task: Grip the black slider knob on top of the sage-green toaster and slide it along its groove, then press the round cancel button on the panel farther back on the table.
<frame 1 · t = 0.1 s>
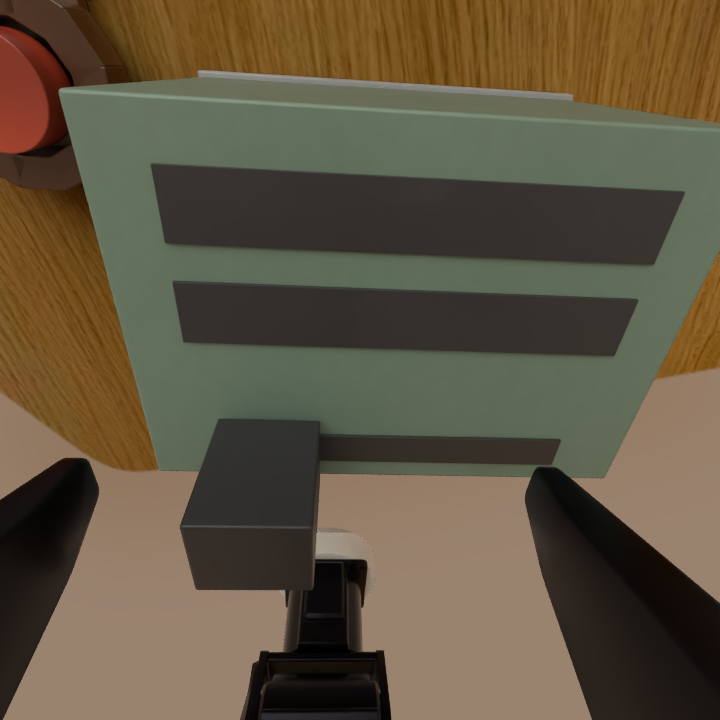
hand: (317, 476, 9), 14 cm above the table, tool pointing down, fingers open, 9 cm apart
toaster: (378, 215, 21), on the table
cancel button: (5, 91, 15), point 3 cm above the table, slide at 0.1 cm
slider: (262, 498, 12), point 13 cm above the table, slide at 0.0 cm
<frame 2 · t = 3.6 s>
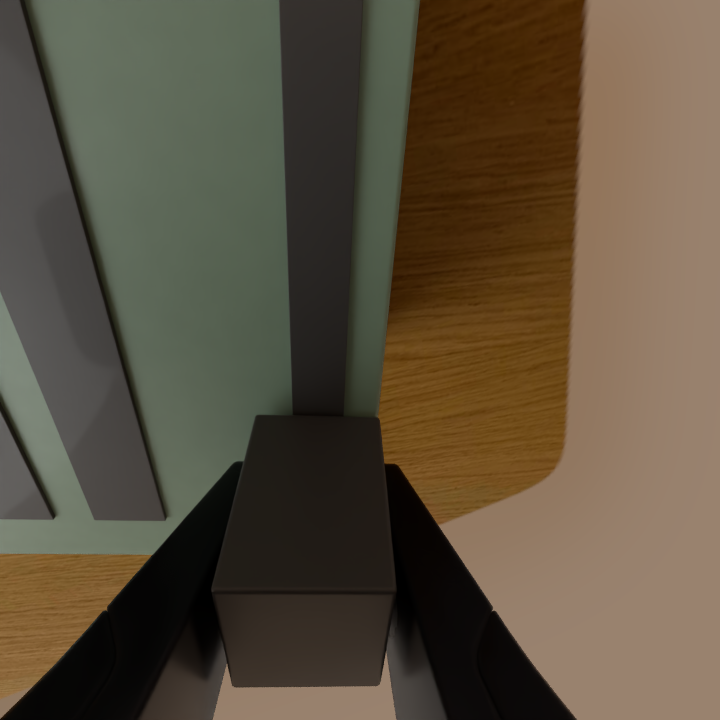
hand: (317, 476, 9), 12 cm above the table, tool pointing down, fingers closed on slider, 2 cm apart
toaster: (230, 172, 17), on the table
slider: (312, 539, 8), point 13 cm above the table, slide at 0.0 cm, touching gripper
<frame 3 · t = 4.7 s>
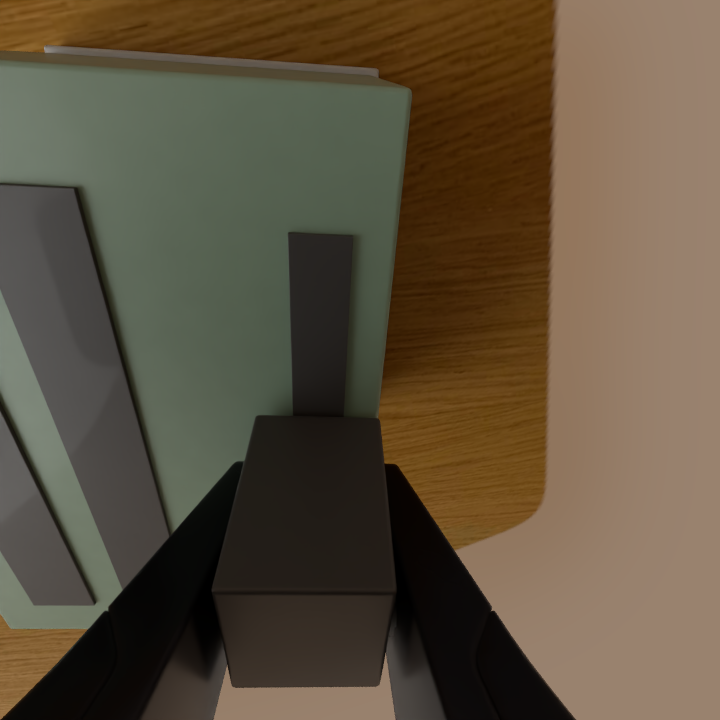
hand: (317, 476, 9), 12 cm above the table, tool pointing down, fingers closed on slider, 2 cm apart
toaster: (239, 266, 19), on the table
slider: (312, 539, 8), point 13 cm above the table, slide at 3.6 cm, touching gripper
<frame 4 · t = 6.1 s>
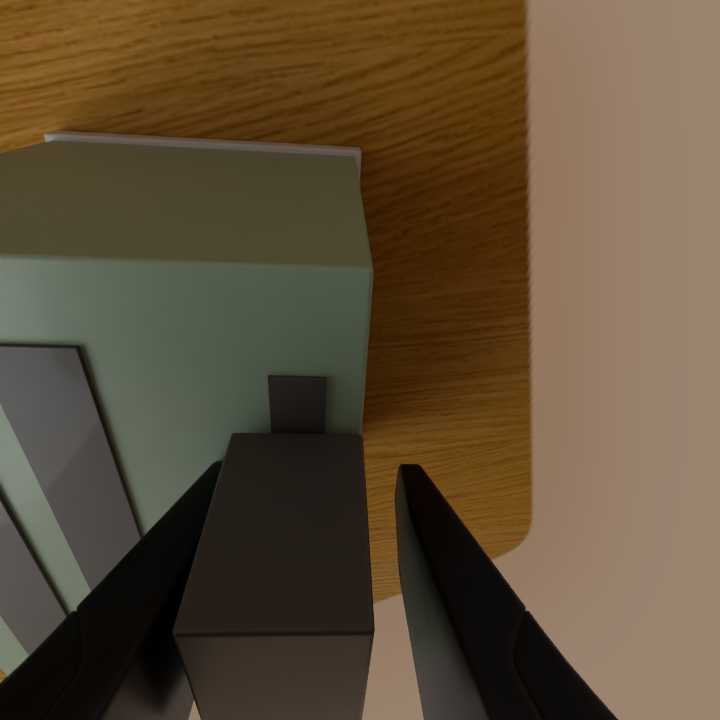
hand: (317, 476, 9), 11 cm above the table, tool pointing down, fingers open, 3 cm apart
toaster: (231, 322, 19), on the table
slider: (290, 565, 8), point 13 cm above the table, slide at 6.0 cm
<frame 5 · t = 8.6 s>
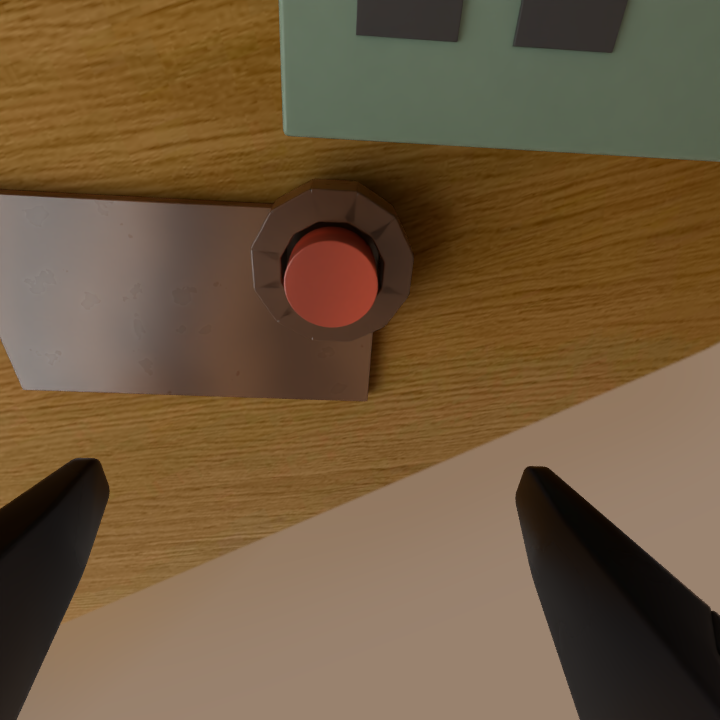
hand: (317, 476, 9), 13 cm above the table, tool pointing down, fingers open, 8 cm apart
cancel button: (331, 277, 18), point 3 cm above the table, slide at 0.1 cm
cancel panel: (187, 305, 22), on the table
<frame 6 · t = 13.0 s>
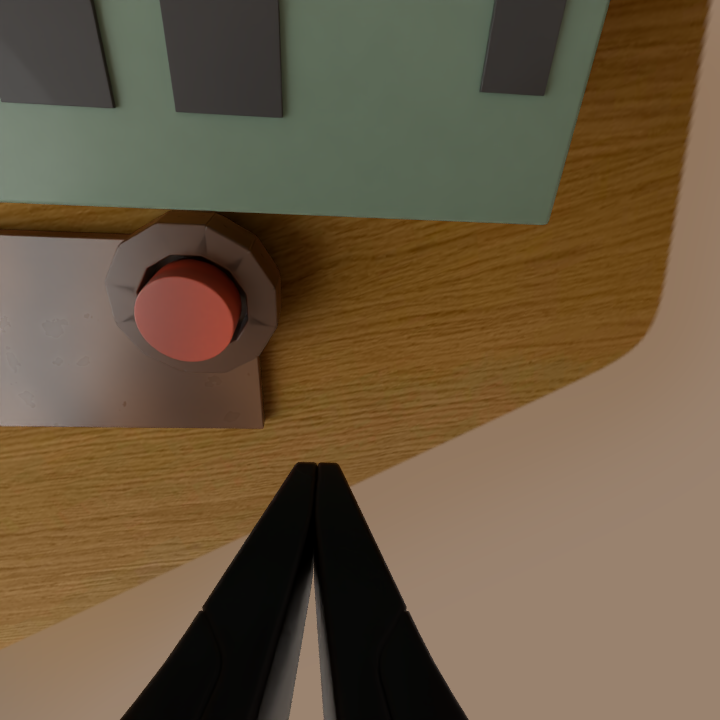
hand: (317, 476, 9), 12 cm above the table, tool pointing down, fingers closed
cancel button: (190, 311, 17), point 3 cm above the table, slide at 0.1 cm
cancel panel: (64, 336, 21), on the table
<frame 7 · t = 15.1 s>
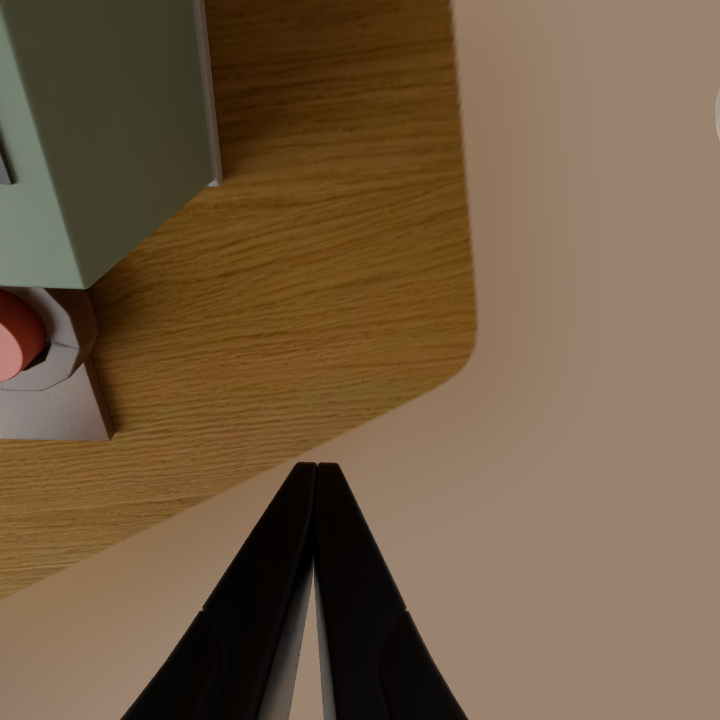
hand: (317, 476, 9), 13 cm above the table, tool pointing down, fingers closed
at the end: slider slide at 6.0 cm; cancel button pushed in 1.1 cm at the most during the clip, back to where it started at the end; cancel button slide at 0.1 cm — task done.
